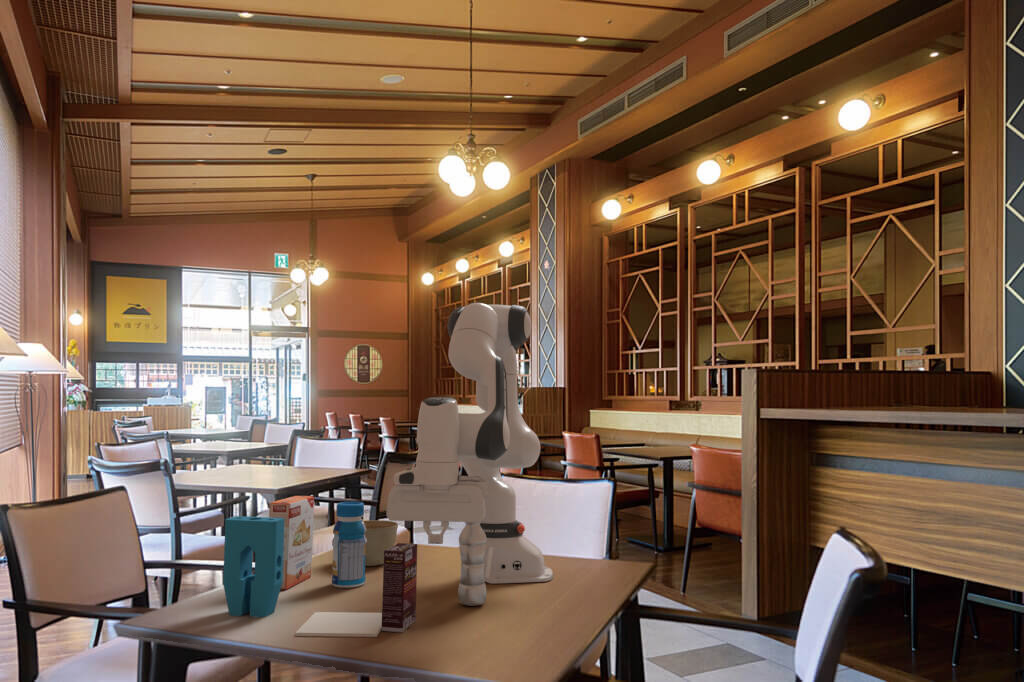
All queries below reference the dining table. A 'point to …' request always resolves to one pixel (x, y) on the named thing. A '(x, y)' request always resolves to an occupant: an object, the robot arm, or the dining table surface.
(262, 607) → the block
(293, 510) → the cracker box
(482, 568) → the plastic bottle
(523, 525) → the robot arm
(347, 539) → the beverage bottle
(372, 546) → the planter bowl
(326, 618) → the felt mat
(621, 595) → the dining table surface
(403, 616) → the supplement box
